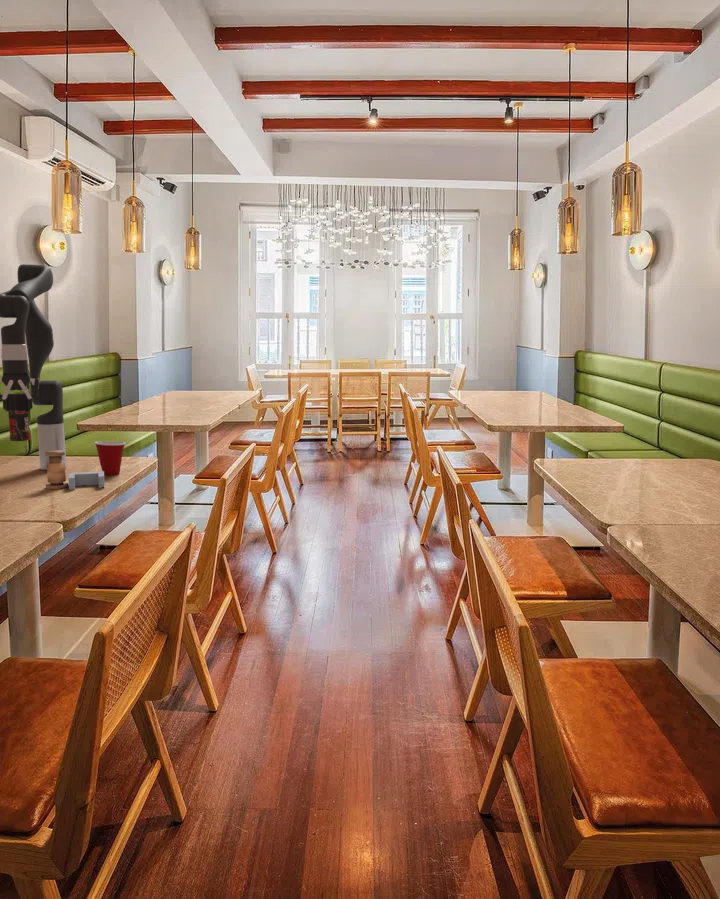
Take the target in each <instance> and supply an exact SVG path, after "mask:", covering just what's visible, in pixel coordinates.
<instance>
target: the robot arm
mask: <svg viewBox="0 0 720 899" xmlns="http://www.w3.org/2000/svg"><path fill="white" fill-rule="evenodd" d="M16 273H17V282H18V283H16V284H15V285H13V287H11V289H10V290H8V291H4V292H2V293H0V318H2V319H6V318H7V319H15V321H14V323H12V324H9V325H4V326H2V327H1V329H0V337H1V338H0V339H1V352H0V353H1V356H0V358H1V366H2V377H1V378H0V385H1V383H3V384H4V385H5V390H4V392H3V394H1V393H2V392H0V399H1V400H2V409H3V410H5V412H8V400H7V396H8V394H11V391H23V392H24V393H25V394H26V396H27V398H28V399H27V405H28V412H29V411H31V410H32V409H33V408H34V407H33V405H35V406H52V409H51V410H49V411H48V412H45V413H43V414H39V415H38V416H37V417H36V423H37V424H36V426H37V438H38V440H37V441H38V458H39V468H40V470H41V471H47V462H49V456H45V452H47V451H56V450H61V451H65V455H62V461H64V462H65V467H66V468H67V455H66V454H67V453H66V442H65V440H66V439H65V423H64V394H63V393H64V392H63V391H64V390H63V384H62V382H61V381H59V380H58V379H57V380H56V379H55V380H49V379H48V380H47V379H46V380H42V379H41V372H42V370H43V367H44V365H45V363H46V361H47V359H48V358H49V356H50V355H51V354H52V350H53V348H54V344H55V342H54V333H53V327H52V324H51V323H50V321H49V320H48V319H47V317H46V316H45V315H44V314H43V312H42V311H41V310H40V309H39V307H38V305H37V303H36V301H35V299H36V298H38V297H39V296H41V295H43V294H44V293H46V292H49V291H50V290H52V288H53V284H54V274H53V272H52V269H51V267H49V266H48V265H45V264H27V263H26V264H23V263H22V264H20V265H19V266H18V267H17V272H16ZM28 385H29V386H30V388H28Z"/></svg>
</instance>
